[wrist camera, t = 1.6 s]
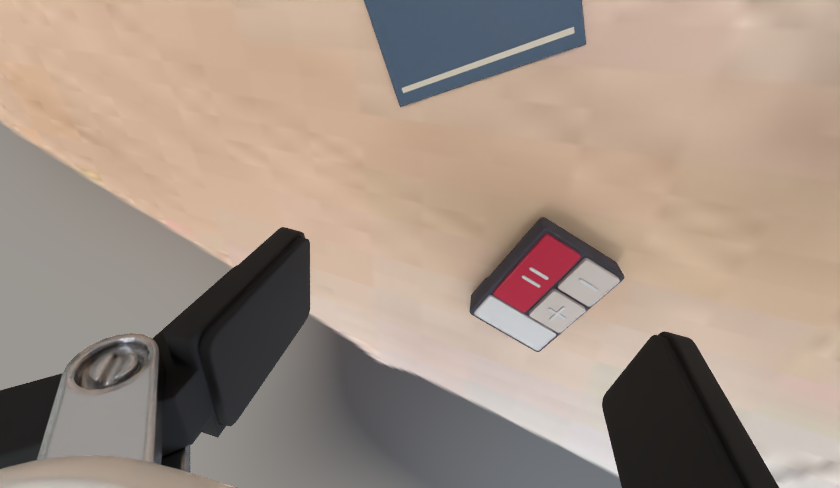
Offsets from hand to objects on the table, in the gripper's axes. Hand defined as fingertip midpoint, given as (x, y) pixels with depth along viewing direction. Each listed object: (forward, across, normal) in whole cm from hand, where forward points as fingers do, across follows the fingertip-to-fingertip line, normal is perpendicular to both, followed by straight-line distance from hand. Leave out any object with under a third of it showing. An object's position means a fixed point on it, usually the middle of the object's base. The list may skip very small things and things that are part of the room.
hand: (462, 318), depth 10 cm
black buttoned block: (+31, -11, +19) cm, 38 cm away
